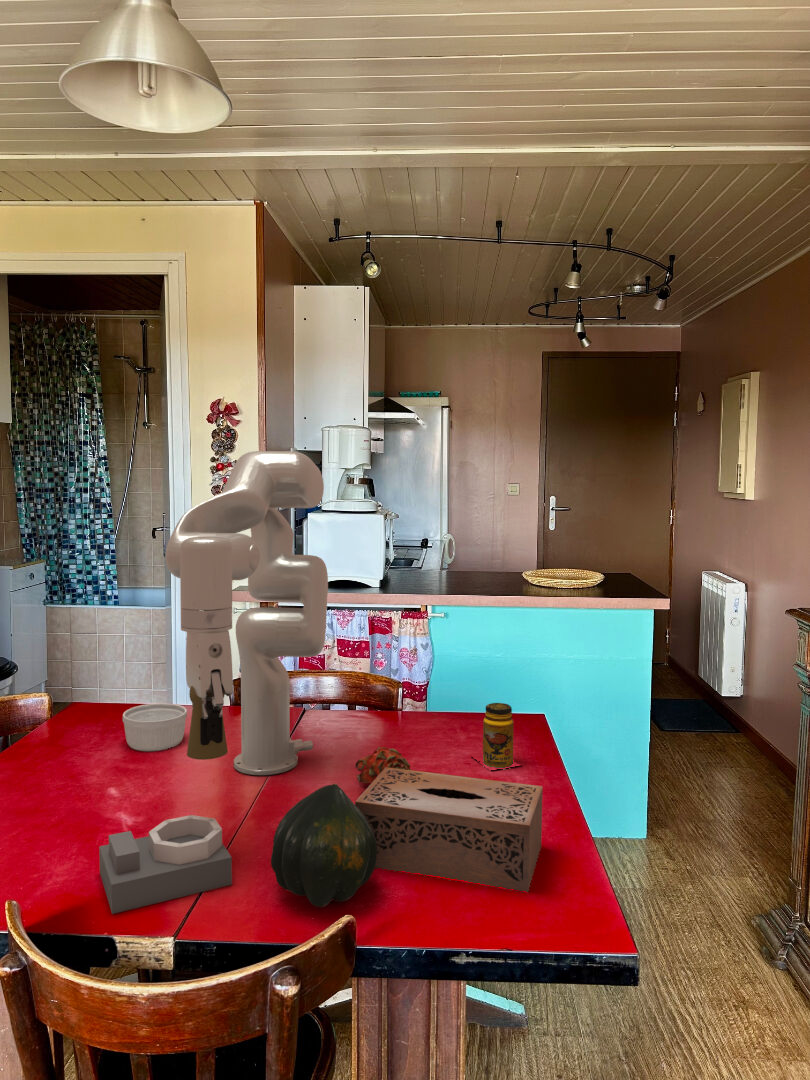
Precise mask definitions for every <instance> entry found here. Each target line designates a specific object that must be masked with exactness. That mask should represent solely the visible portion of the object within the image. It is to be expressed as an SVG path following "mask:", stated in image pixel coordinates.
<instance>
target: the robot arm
mask: <svg viewBox="0 0 810 1080" xmlns="http://www.w3.org/2000/svg"><path fill="white" fill-rule="evenodd" d="M324 487H325V486H324V478H323V474H322V472H321V471H320V469H319V468H318V466H317V465H316V464H315V463H314V462H313V460H312V459H311V457H309V456H307V454H304V453H302V452H298V451H290V450H289V451H286V450H278V451H277V450H276V451H274V450H271V451H270V450H268V451H267V450H255V451H249V452H246V453H244V454H242V455H241V456H239V458H238V459H237V460H236V462H235V463H234V465H233V468H232V470H231V472H230V474H229V476H228V478H227V481H226V483H225V485H224V486H223V488H222V491H221V492H220V493H218V494H216V495H213V496H212V497H210V498H208V499H206V500H204V501H202V502H201V503H198V504H197V505H194V506H193V507H192V508H190V509H189V510H187V511H186V512H185V513H184V514H183V515H182V516H181V517H180V519H179V520H178V522H177V523H176V525H175V527H174V529H173V531H172V534H171V535H170V538H169V540H168V543H167V546H166V551H165V561H166V562H165V563H166V566H167V569H168V571H169V572H170V574H171V575H173V576H174V577H176V578H178V579H180V581H179V586H180V587H179V588H180V590H179V591H180V595H179V596H180V630H181V631H182V632H186V638H185V640H186V643H185V644H186V645H185V678H186V679H185V680H186V685H187V687H188V689H190V687H191V686H193V687H194V690H195V692H196V695H197V696H199V697H200V698H202V717H203V718H200V743H201V744H202V745H208V744H209V742H210V741H211V740H212V741H214V742H216V743H221V742H222V740H223V721H224V719H223V720H222V716H223V717H224V715H223V713H224V711H223V706H224V704H225V702H224V701H225V700H224V699H223V694H222V691H223V692H224V694H225V695H224V696H226V697H231V696H233V694H234V677H233V656H232V647H231V646H232V645H231V637H230V630H232V629H233V581H243V580H246V579H247V589H248V592H249V595H250V596H251V597H252V598H253V599H255V600H256V601H263V602H274V603H275V602H276V603H277V602H278V603H301V604H302V605H303V608H302V607H301V608H300V607H299V608H296V607H269V606H268V607H267V606H266V607H264V606H263V607H262V606H261V607H254V608H249V609H246V610H245V611H243V612H242V613H241V614H239V616H238V617H237V620H236V623H235V639H236V643H237V644H236V645H237V649H238V656H239V663H240V664H239V665H240V666H239V667H240V705H241V706H240V707H241V711H240V712H241V713H240V716H241V717H240V719H241V720H240V722H241V729H240V730H241V731H240V734H241V752H240V753H239V754H238V755H236V756H235V758H234V759H233V768H234V769H235V770H236V771H238V772H240V773H241V774H246V775H251V776H271V775H277V774H282V773H285V772H289V771H291V770H292V769H294V768H295V767H296V766H297V765H298V760H299V759H298V758H299V757H298V754H299V752H306V751H312V750H313V749H314V743H313V740H312V739H310V740H304V741H303V739H302V738H300V739H294V740H293V739H291V737H290V734H291V733H290V729H291V728H290V724H291V723H290V722H291V721H290V720H291V719H290V718H291V717H290V711H291V710H290V698H291V697H290V696H291V695H290V690H291V689H290V685H291V684H290V683H291V681H290V676H289V672H288V670H287V668H286V667H285V666H284V664H283V662H282V661H281V660H280V659H279V658H280V657H281V658H282V657H284V658H285V657H287V658H289V657H290V658H291V657H292V658H311V657H316V656H318V655H320V654H321V653H322V651H323V649H324V647H325V646H324V645H325V644H326V643H325V641H326V634H327V633H326V631H327V613H328V612H327V609H328V594H329V593H328V591H329V576H328V569H327V565H326V563H325V561H324V560H323V559H322V558H321V557H319V556H317V555H311V554H293V552H294V549H293V548H294V531H293V528H292V526H291V525H290V523H289V522H288V521H287V519H286V518H285V516H284V515H283V514H282V513H280V511H279V510H278V509H279V508H280V509H281V508H282V509H283V508H284V509H312V508H315V507H317V506H319V504H320V503H321V502H322V499H323V496H324V489H325V488H324ZM247 530H250V535H248V534H245V533H241V532H245V531H247ZM221 684H222V687H223V689H222V687H221ZM206 693H212V696H211V697H206V696H207V694H206ZM207 701H212V703H209V705H208V708H207ZM191 707H192V708H191V709H193V703H192V702H191Z"/></svg>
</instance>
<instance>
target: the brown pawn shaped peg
mask: <svg viewBox="0 0 810 1080" xmlns="http://www.w3.org/2000/svg"><path fill="white" fill-rule="evenodd" d="M221 687H222V684H221ZM222 689H223V687H222ZM206 694H207V696H206V697H211V696H212V693H206ZM222 694H223V700H224V699H225V696H226V695H225V694H224V692H223V691H222ZM188 695H189V700H190V701H191V704H192V703H193V708H192V711H191V719H190V720H191V721H190V727H189V734H188V736H189V737H188V742H187V750H186V756H187V757H188V758H189V759H193V760H199V761H200V760H202V761H203V760H204V761H205V760H213V759H214V760H215V759H219V758H222V757H224V756H226V755H227V754H228V753H229V752H228V751H229V750H228V745H227V738H226V732H225V731H226V729H225V723H224V715H223V716H222V720H223V740H222V742H221V743H216V742H214V741H212V740H211V741H210V742H209V744H208V745H202V744H201V743H200V718H203V717H202V698H200V697H199V696H197V695H196V692H195V690H194V687H193V686H191V687H190V688H189V694H188ZM209 703H212V701H207V708H208V705H209Z"/></svg>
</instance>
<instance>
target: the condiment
mask: <svg viewBox="0 0 810 1080" xmlns="http://www.w3.org/2000/svg"><path fill="white" fill-rule="evenodd" d="M512 710H513V708H512V706H511V705H510V704H507V703H504V702H491V703H488V704H486V705H485V713H484V714H485V715H484V716H485V717H484V718H483V727H482V731H483V732H482V734H483V735H482V755H483V761H484V762H483V763H484V764H485V765H487V766H489V767H495V768H505V767H509V766H511V765H512V764H513V760H514V719H513V718H512V717H513V714H512V713H513V711H512Z"/></svg>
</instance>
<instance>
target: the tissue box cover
mask: <svg viewBox="0 0 810 1080" xmlns="http://www.w3.org/2000/svg"><path fill="white" fill-rule="evenodd" d="M543 792H544V791H543V785H534V784H529V783H528V784H527V783H519V782H509V781H503V780H494V779H486V778H477V777H471V776H470V777H469V776H461V775H452V774H446V773H445V774H444V773H438V772H437V773H435V772H429V771H419V770H412V769H411V770H406V769H397V768H389V767H386V768H385V769H384V770H383V771H382V772H381V773H380V774H379V775H378V777H377V778H376V779H375V780H374V781H373V782H372V783H369V785H368V787H367V788H366V789H364V791H363V792H362V793H361V795H359V796H358V798H357V799H355V801H354V804H355V805H356V806H357V807H358V808H359V810H360V811H361V812H362V814H363V815H364V816H365V818H366V820H367V822H368V824H369V826H370V828H371V830H372V832H373V834H374V837H375V840H376V845H377V859H376V865H375V868H374V869H378V868H382V869H381V870H384V869H387V870H386V871H390V870H394V871H393V872H396V871H405V872H410V873H420V874H423V875H425V874H426V875H433V876H440V877H445V878H450V879H457V880H464V881H468V882H473V883H480V884H485V885H490V886H495V887H503V888H506V889H514V890H519V891H526V892H528V891H530V889H529V887H530V888H531V885H530V883H531V884H532V882H531V880H532V881H533V878H532V876H534V874H535V871H534V869H535V870H536V867H537V864H536V862H538V860H537V859H539V856H540V853H541V849H542V835H543V834H542V833H543V831H542V830H543V829H542V826H543V821H542V820H543ZM539 852H540V853H539ZM538 855H539V856H538ZM535 866H536V867H535ZM533 873H534V874H533ZM506 889H505V890H506ZM528 893H529V892H528Z"/></svg>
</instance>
